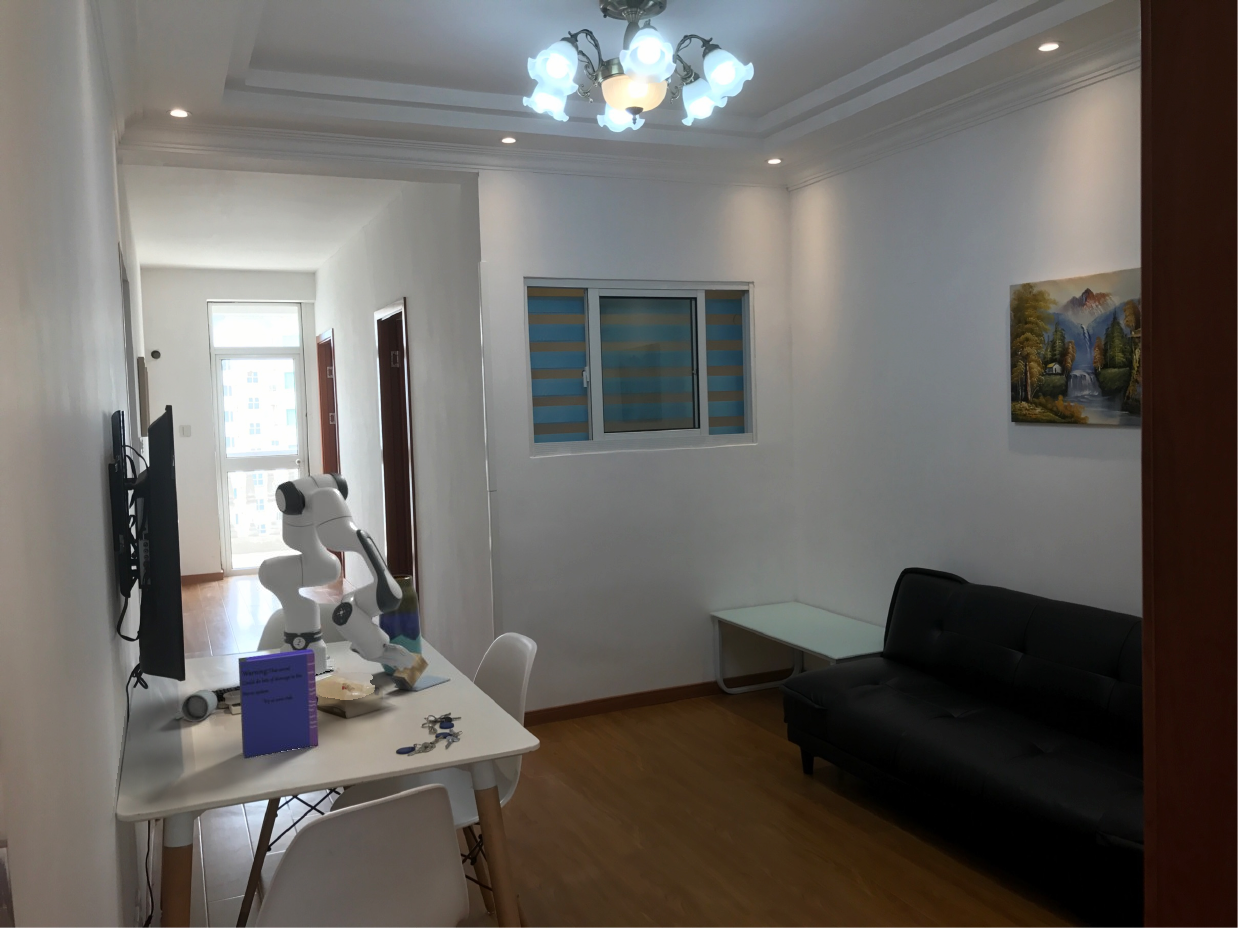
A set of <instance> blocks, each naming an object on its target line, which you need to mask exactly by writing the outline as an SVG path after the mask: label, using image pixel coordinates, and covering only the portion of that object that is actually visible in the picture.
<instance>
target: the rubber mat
mask: <svg viewBox="0 0 1238 928" xmlns="http://www.w3.org/2000/svg"><path fill="white" fill-rule="evenodd" d="M448 680H450V681H451V678H448V677H447V678H446V677H443V676H442V677H441V676H437V675H436V676H435V675H430V674H427V675H424V676H420V678H419V679H418V680H417V682H416V683H415V685H414V686H413V687H412V689H411V690H410V691H414V692H419V691H422V690H426V689H428V688H432V687H434V686H433V685H435V686H437V684H438V685H441V684H443V683H442V682H444V683H446V682H445V681H447V682H449V681H448ZM440 683H441V684H440ZM394 688H398V687H397V685H396V684H395V685H394Z"/></svg>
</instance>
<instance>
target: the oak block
mask: <svg viewBox="0 0 1238 928" xmlns="http://www.w3.org/2000/svg"><path fill="white" fill-rule="evenodd" d="M411 654H412V655H413V656H414V657H415V662H414V663H413V665H412V667H411V668H404V669H403V670H402V671H400V670H396V671H395V673H394V674H393V675H391V677H390V679H391V680H392V682H393V683H394V684H395V685H397V687H396V688H398V689H400V690H404V691H405V690H406V691H409V692H410V691H412V690H411V689H412V687H413V686H414V685H415V683H416V682H417V680H418V679H419V678H420V677H422V675H423V673H424V672H425V671H426V669H427V668H428V666H429V663H428V662H427V661H426V660H425V658H424V656H423V654H422V655H421V654H416V653H411Z"/></svg>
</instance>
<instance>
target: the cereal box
mask: <svg viewBox="0 0 1238 928" xmlns="http://www.w3.org/2000/svg"><path fill="white" fill-rule="evenodd" d="M238 674H239V675H238V678H239V679H238V680H239V698H240V699H239V701H240V703H239V704H240V723H241V744H242V746H241V747H242V748H241V749H242V755H243V757H244V759H251V758H256V756H257V757H261V755H263V756H267V755H266V754H268V755H273V754H272V753H274V754H279V753H278V752H280V753H282V752H281V751H286V752H288V751H287V750H292V749H297V750H299V749H298V748H303V749H306V748H305V747H309V748H311V747H310V746H315V747H319V733H318V732H319V731H318V730H319V728H318V727H319V726H318V707H317V706H318V705H317V704H318V702H317V686H316V685H317V684H316V683H317V682H316V675H315V655H314V651H313V650H312V649H307V650H299V651H292V652H284V653H280V652H279V653H270V654H262V655H254V656H247V657H239V658H238ZM292 751H293V750H292ZM250 757H251V758H250Z"/></svg>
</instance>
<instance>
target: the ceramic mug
mask: <svg viewBox="0 0 1238 928" xmlns="http://www.w3.org/2000/svg"><path fill="white" fill-rule="evenodd" d="M217 706H218V697H217V695H216V694H215V693H214V692H213V691H211V690H210V689H200V690H198V691H195V692H194V693H193V692H192V693H191V694H189V695H188V696H186V697H185V698H184V699H183V700H182V703H181V706H180V711H178V712H176V713H175V714H174V717H175V719H176V720H179V719H181V718H183V717H184V718H185V719H186V720H187V721H189V722H194V723H195V722H200V721H203V720H204V719H206V718H207V717H208V716H209V715H210V714H212V713H213V712H214V711H215V709H216V708H217Z"/></svg>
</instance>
